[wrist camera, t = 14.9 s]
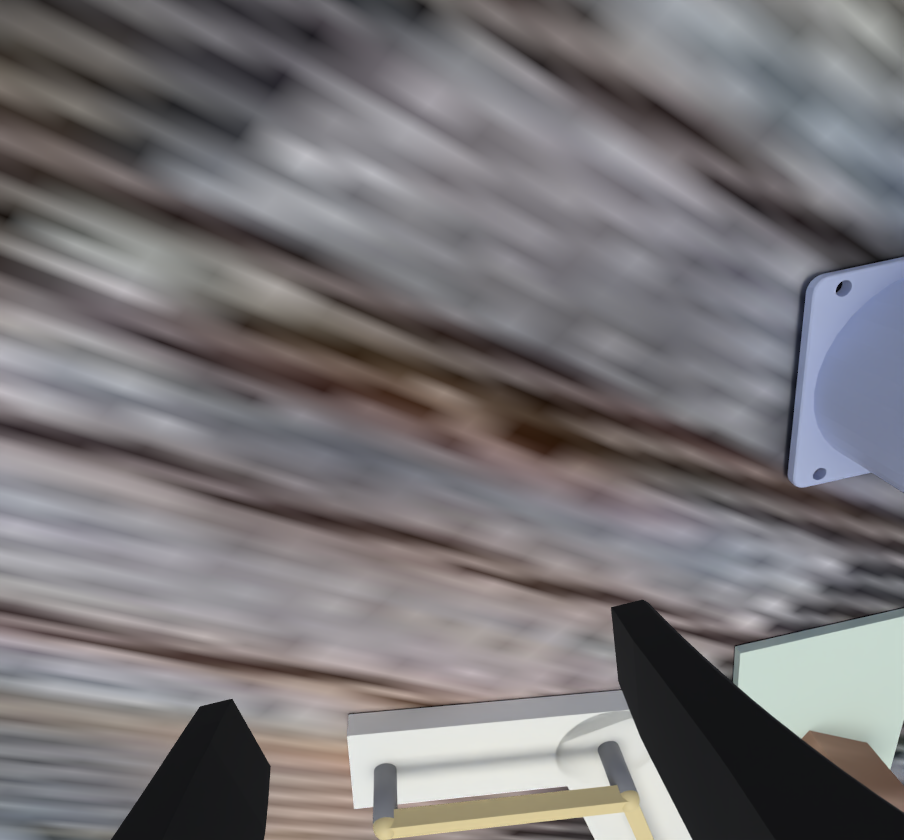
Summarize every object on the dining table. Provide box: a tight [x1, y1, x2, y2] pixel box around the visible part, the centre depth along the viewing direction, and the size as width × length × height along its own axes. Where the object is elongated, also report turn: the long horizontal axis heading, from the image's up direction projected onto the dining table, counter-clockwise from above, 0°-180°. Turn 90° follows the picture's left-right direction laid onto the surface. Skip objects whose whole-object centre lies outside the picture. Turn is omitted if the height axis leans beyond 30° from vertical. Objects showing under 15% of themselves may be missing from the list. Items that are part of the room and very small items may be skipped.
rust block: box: [802, 730, 904, 812], centre depth 26 cm, size 4×4×6 cm
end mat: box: [733, 608, 904, 769], centre depth 29 cm, size 9×19×1 cm, turn 10°
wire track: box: [347, 690, 692, 840], centre depth 26 cm, size 17×17×4 cm
